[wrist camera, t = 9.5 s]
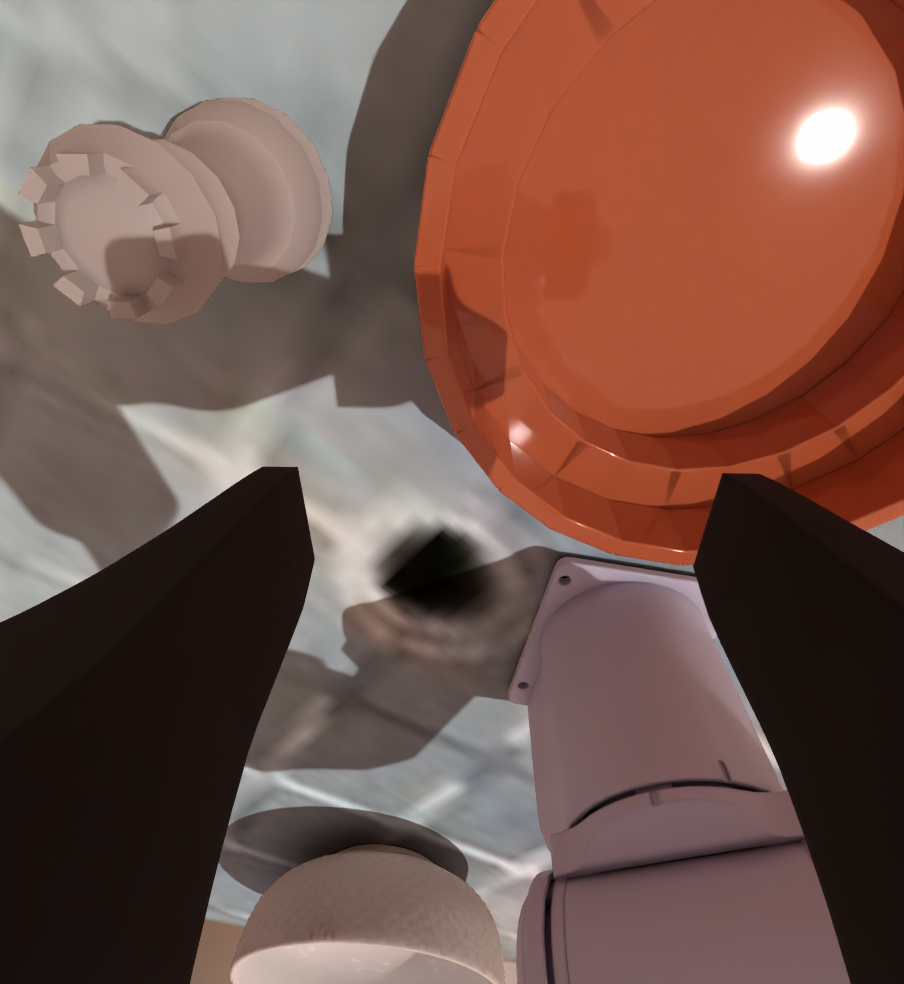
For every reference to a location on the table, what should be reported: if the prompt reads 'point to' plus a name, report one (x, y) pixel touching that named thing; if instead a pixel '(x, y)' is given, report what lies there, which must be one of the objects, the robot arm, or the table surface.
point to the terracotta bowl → (671, 260)
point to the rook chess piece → (178, 208)
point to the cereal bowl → (369, 925)
